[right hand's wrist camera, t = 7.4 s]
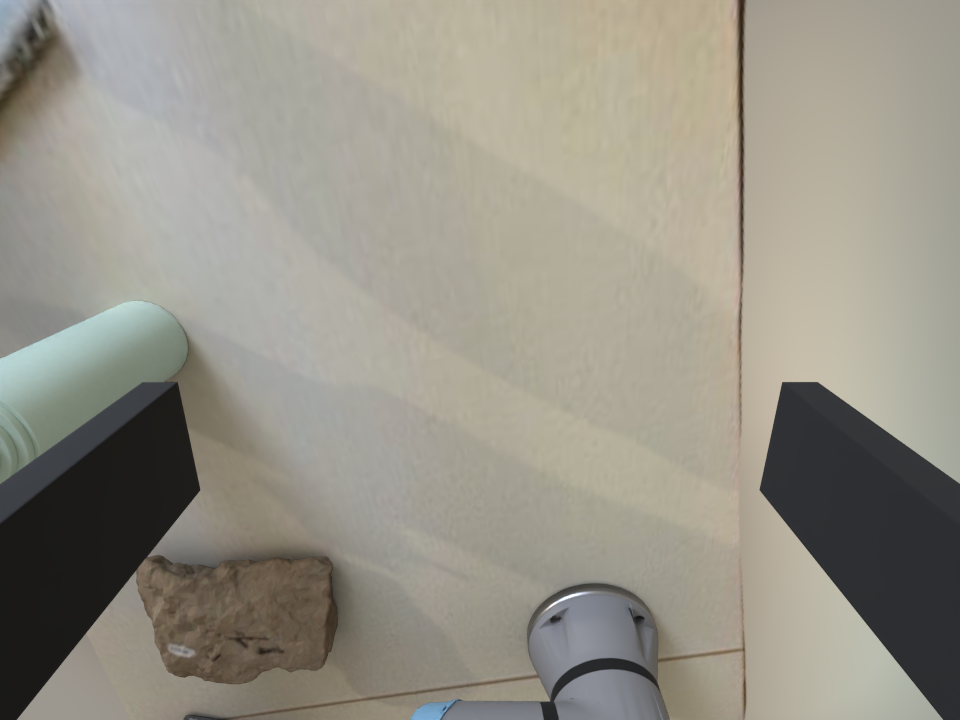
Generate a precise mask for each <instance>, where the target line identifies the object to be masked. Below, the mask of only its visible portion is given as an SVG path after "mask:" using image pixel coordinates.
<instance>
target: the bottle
mask: <svg viewBox="0 0 960 720" xmlns="http://www.w3.org/2000/svg"><path fill="white" fill-rule="evenodd" d="M187 354H188V342H187V338H186V335H185V332H184V330H183V328H182V327H181V325H180V324H179V322H178V321H177V320H176V319H175V318H174V317H173V316H172V315H171V314H170V313H169V312H167V311H166V310H164V309H163V308H161V307H159V306H157V305H155V304H152V303H149V302H144V301H129V302H125V303H122V304H120V305H117V306H115V307H113V308H111V309H109V310H106V311H104V312H102V313H100V314H98V315H95V316H93V317H91V318H89V319H87V320H84V321H82V322H80V323H78V324H76V325H74V326H71V327H69V328H67V329H65V330H63V331H60V332H58V333H56V334H54V335H52V336H49V337H47V338H45V339H43V340H41V341H38V342H36V343H34V344H32V345H30V346H27V347H25V348H23V349H21V350H19V351H16V352H14V353H12V354H10V355H8V356H5V357H3V358H1V359H0V484H1V483H2V482H4V481H5V480H6V479H8V478H9V477H11V476H12V475H13V474H15V473H16V472H18V471H19V470H20V469H22V468H23V467H25V466H26V465H27V464H29V463H30V462H32V461H33V460H34V459H36V458H37V457H39V456H40V455H41V454H43V453H44V452H46V451H47V450H48V449H50V448H51V447H53V446H54V445H55V444H57V443H58V442H60V441H61V440H62V439H64V438H65V437H67V436H68V435H69V434H71V433H72V432H74V431H75V430H76V429H78V428H79V427H81V426H82V425H83V424H85V423H86V422H87V421H89V420H90V419H92V418H93V417H94V416H96V415H97V414H99V413H100V412H101V411H103V410H104V409H106V408H107V407H108V406H110V405H111V404H113V403H114V402H115V401H117V400H118V399H120V398H121V397H122V396H124V395H125V394H127V393H128V392H129V391H131V390H132V389H134V388H135V387H136V386H138V385H139V384H141V383H142V382H165V381H166V380H168V379H169V378H170V377H172V376H173V375H174V374H175V373H177V372H178V371H179V370H180V369H181V368H182V367H183V365H184V363H185V361H186V359H187Z"/></svg>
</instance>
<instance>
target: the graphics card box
mask: <svg viewBox="0 0 960 720" xmlns="http://www.w3.org/2000/svg"><path fill="white" fill-rule="evenodd" d="M183 720H217V719H212V718H205V717H200V716H195V715H186V716H185V718H184V719H183Z"/></svg>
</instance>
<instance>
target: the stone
mask: <svg viewBox="0 0 960 720" xmlns="http://www.w3.org/2000/svg"><path fill="white" fill-rule="evenodd" d="M332 569H333V565H332V562H331V561H330V560H329V558H328V557H319V558H315V557H311V558H303V559H297V560H289V559H281V558H279V557H277V558H272V559H266V560H264V561H251V560H245V561H234V560H229V561H223V562H221V564H220V566H219V567H218V568H216V569H214V568H209V567H206V566H203V565H194V566H189V565H187V564H180V563H176V564H173V563H171V562H170V561H169V560H167V559H166V558H164V557H163V556H159V555H157V556H152V557H146V559H145V560H144V561H143V562H142V564H141V565H140V566H139V567H138V569H137V570H136V571H137V581H136V582H137V584H138V592H139V594H140V596H141V599H142V601H143V602H144V606H145V610H146V612H147V615H148V616H149V617H150V618H151V619H152V625H153V627H154V632H155V643H156V646H157V647H158V649H159V650H160V653H161V657H162V660H163V663H164V664H165V666H166V669H167V671H168V672H169V673H172V674H174V675H175V676H179V677H184V678H185V677H187V676H193V675H194V676H196V677H200V678H202V679H203V680H204V681H212V682H216V683H227V684H242V683H247V682H250V681H252V680H254V679H255V678H257V676H258V675H259V674H260V673H261V672H263V671H268V670H271V669H273V668H276V667H279V668H282V669H285V670H287V671H288V672H293V671H295V670H299V669H309V670H314V671H316V670H319V669H320V668H322V667H323V665H324V664H325V660H326V659H327V656H328V652H331V649H332V646H333V640H334V635H335V631H336V628H337V607H336V605H335V603H334V601H333V594H332V577H331V572H332Z"/></svg>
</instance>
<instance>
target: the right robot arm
mask: <svg viewBox="0 0 960 720" xmlns="http://www.w3.org/2000/svg"><path fill="white" fill-rule="evenodd" d="M199 491H200V486H199V481H198V477H197V472H196V467H195V462H194V458H193V453H192V448H191V443H190V439H189V434H188V429H187V424H186V420H185V415H184V410H183V405H182V401H181V396H180V391H179V386H178V382H142V383H141V384H139V385H138V386H136V387H135V388H134V389H132V390H131V391H129V392H128V393H127V394H125V395H124V396H122V397H121V398H120V399H118V400H117V401H115V402H114V403H113V404H111V405H110V406H108V407H107V408H106V409H104V410H103V411H101V412H100V413H99V414H97V415H96V416H94V417H93V418H92V419H90V420H89V421H87V422H86V423H85V424H83V425H82V426H81V427H79V428H78V429H76V430H75V431H74V432H72V433H71V434H69V435H68V436H67V437H65V438H64V439H62V440H61V441H60V442H58V443H57V444H55V445H54V446H53V447H51V448H50V449H48V450H47V451H46V452H44V453H43V454H41V455H40V456H39V457H37V458H36V459H34V460H33V461H32V462H30V463H29V464H27V465H26V466H25V467H23V468H22V469H20V470H19V471H18V472H16V473H15V474H13V475H12V476H11V477H9V478H8V479H6V480H5V481H4V482H2V483H1V484H0V720H17V719H18V717H19V716H20V715H21V714H22V712H23V711H24V710H25V709H26V707H27V706H28V705H29V704H30V702H31V701H32V700H33V699H34V697H35V696H36V695H37V694H38V692H39V691H40V690H41V689H42V687H43V686H44V685H45V684H46V682H47V681H48V680H49V679H50V677H51V676H52V675H53V674H54V672H55V671H56V670H57V669H58V667H59V666H60V665H61V664H62V662H63V661H64V660H65V659H66V657H67V656H68V655H69V654H70V652H71V651H72V650H73V649H74V647H75V646H76V645H77V644H78V642H79V641H80V640H81V639H82V637H83V636H84V635H85V634H86V632H87V631H88V630H89V629H90V627H91V626H92V625H93V624H94V622H95V621H96V620H97V619H98V617H99V616H100V615H101V614H102V612H103V611H104V610H105V609H106V607H107V606H108V605H109V604H110V602H111V601H112V600H113V599H114V597H115V596H116V595H117V594H118V592H119V591H120V590H121V589H122V587H123V586H124V585H125V584H126V582H127V581H128V580H129V579H130V577H131V576H132V575H133V574H134V572H135V571H136V570H137V569H138V567H139V566H140V565H141V564H142V562H143V561H144V560H145V559H146V557H147V556H148V555H149V554H150V552H151V551H152V550H153V549H154V547H155V546H156V545H157V544H158V542H159V541H160V540H161V539H162V537H163V536H164V535H165V534H166V532H167V531H168V530H169V529H170V527H171V526H172V525H173V524H174V522H175V521H176V520H177V519H178V517H179V516H180V515H181V514H182V512H183V511H184V510H185V509H186V507H187V506H188V505H189V504H190V502H191V501H192V500H193V499H194V497H195V496H196V495H197V494H198V492H199ZM760 491H761V492H762V494H763V495H764V496H765V497H766V499H767V500H768V501H769V502H770V504H771V505H772V506H773V507H774V509H775V510H776V511H777V512H778V514H779V515H780V516H781V517H782V519H783V520H784V521H785V522H786V524H787V525H788V526H789V527H790V529H791V530H792V531H793V532H794V534H795V535H796V536H797V537H798V539H799V540H800V541H801V542H802V544H803V545H804V546H805V547H806V549H807V550H808V551H809V552H810V554H811V555H812V556H813V557H814V559H815V560H816V561H817V562H818V564H819V565H820V566H821V567H822V569H823V570H824V571H825V572H826V574H827V575H828V576H829V577H830V579H831V580H832V581H833V582H834V584H835V585H836V586H837V587H838V589H839V590H840V591H841V592H842V594H843V595H844V596H845V597H846V599H847V600H848V601H849V602H850V604H851V605H852V606H853V607H854V609H855V610H856V611H857V612H858V614H859V615H860V616H861V617H862V619H863V620H864V621H865V622H866V624H867V625H868V626H869V627H870V629H871V630H872V631H873V632H874V634H875V635H876V636H877V637H878V639H879V640H880V641H881V642H882V644H883V645H884V646H885V647H886V649H887V650H888V651H889V652H890V654H891V655H892V656H893V657H894V659H895V660H896V661H897V662H898V664H899V665H900V666H901V667H902V669H903V670H904V671H905V672H906V674H907V675H908V676H909V677H910V679H911V680H912V681H913V682H914V684H915V685H916V686H917V687H918V689H919V690H920V691H921V692H922V694H923V695H924V696H925V697H926V699H927V700H928V701H929V702H930V704H931V705H932V706H933V707H934V709H935V710H936V711H937V712H938V714H939V715H940V716H941V717H942V719H943V720H960V484H959V483H958V482H956V481H955V480H953V479H952V478H951V477H949V476H948V475H947V474H945V473H944V472H942V471H941V470H940V469H938V468H937V467H935V466H934V465H933V464H931V463H930V462H928V461H927V460H926V459H924V458H923V457H921V456H920V455H919V454H917V453H916V452H914V451H913V450H912V449H910V448H909V447H907V446H906V445H905V444H903V443H902V442H900V441H899V440H898V439H896V438H895V437H893V436H892V435H891V434H889V433H888V432H886V431H885V430H884V429H882V428H881V427H879V426H878V425H877V424H875V423H874V422H873V421H871V420H870V419H868V418H867V417H866V416H864V415H863V414H861V413H860V412H859V411H857V410H856V409H854V408H853V407H851V406H850V405H849V404H847V403H846V402H845V401H843V400H842V399H840V398H839V397H838V396H836V395H835V394H833V393H832V392H831V391H829V390H828V389H826V388H825V387H824V386H822V385H821V384H819V383H818V382H782V386H781V391H780V396H779V401H778V405H777V410H776V415H775V420H774V424H773V429H772V434H771V439H770V443H769V448H768V453H767V458H766V462H765V467H764V472H763V477H762V481H761V486H760ZM527 641H528V650H529V656H530V659H531V661H532V664H533V666H534V668H535V670H536V672H537V674H538V676H539V678H540V680H541V682H542V684H543V686H544V688H545V690H546V692H547V694H548V696H549V698H550V702H537V701H463V700H461V699H456V700H452V701H450V702H437V703H427V704H425V705H423V706H421V707H420V708H418V709H417V710H416V711H415V712H414V714H413V715H412V717H411V718H410V720H670V718H669V715H668V712H667V709H666V706H665V704H664V701H663V698H662V695H661V692H660V689H659V686H658V683H657V673H658V633H657V629H656V626H655V623H654V620H653V617H652V615H651V613H650V611H649V609H648V607H647V606H646V605H645V604H644V602H643V601H642V600H641V599H639V598H638V597H637V596H636V595H634V594H632V593H631V592H629V591H627V590H625V589H622V588H619V587H616V586H612V585H606V584H584V585H578V586H574V587H570V588H567V589H565V590H562V591H560V592H558V593H556V594H554V595H553V596H551V597H550V598H548V599H547V600H546V601H544V602H543V603H542V604H541V605H540V606H539V607H538V609H537V610H536V611H535V613H534V614H533V616H532V618H531V620H530V622H529V626H528V631H527Z"/></svg>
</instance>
